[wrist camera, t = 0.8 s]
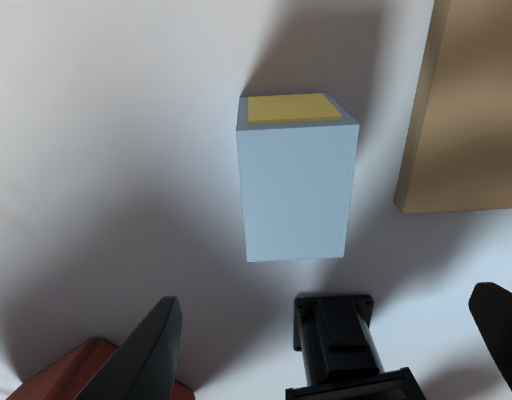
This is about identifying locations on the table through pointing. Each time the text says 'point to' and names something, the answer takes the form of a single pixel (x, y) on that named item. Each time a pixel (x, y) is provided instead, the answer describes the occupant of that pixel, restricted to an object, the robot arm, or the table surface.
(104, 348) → the plant pot
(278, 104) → the box
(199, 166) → the table surface
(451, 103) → the shelf board
